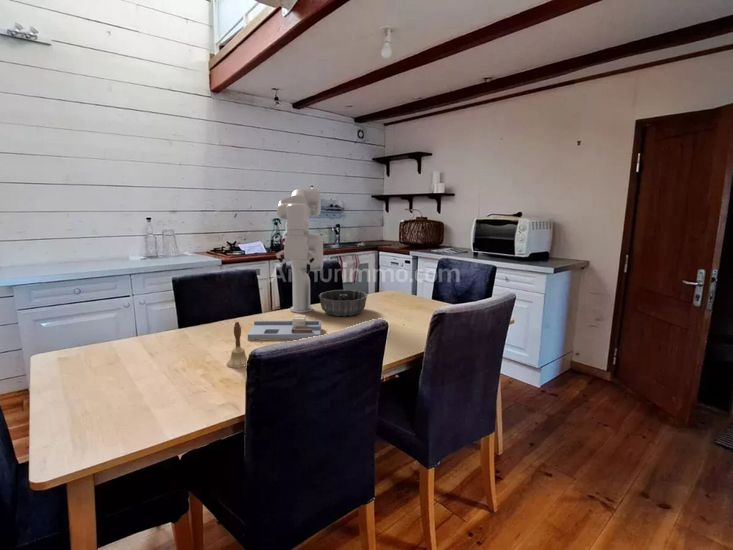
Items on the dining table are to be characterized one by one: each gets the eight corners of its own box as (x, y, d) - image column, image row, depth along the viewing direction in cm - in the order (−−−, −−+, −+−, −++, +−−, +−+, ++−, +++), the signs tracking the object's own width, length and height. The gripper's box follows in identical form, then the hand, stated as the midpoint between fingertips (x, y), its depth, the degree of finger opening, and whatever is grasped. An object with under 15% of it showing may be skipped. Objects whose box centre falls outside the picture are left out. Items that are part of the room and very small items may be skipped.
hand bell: (255, 362, 146) (253, 321, 143) (237, 370, 139) (235, 327, 136) (239, 357, 150) (237, 317, 147) (221, 364, 143) (219, 323, 140)
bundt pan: (310, 316, 206) (310, 297, 204) (329, 304, 231) (329, 287, 229) (358, 321, 198) (358, 302, 197) (372, 308, 223) (373, 291, 221)
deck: (254, 329, 183) (254, 320, 182) (321, 328, 186) (321, 320, 185) (247, 340, 168) (247, 331, 168) (320, 339, 171) (320, 330, 170)
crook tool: (292, 330, 174) (292, 327, 174) (312, 330, 175) (312, 327, 175) (291, 332, 171) (291, 329, 171) (312, 332, 172) (312, 329, 172)
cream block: (293, 324, 183) (293, 315, 182) (305, 324, 183) (305, 315, 182) (292, 328, 177) (292, 318, 177) (304, 328, 178) (304, 318, 177)
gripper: (317, 233, 170) (317, 271, 173) (276, 232, 169) (277, 271, 172) (315, 234, 163) (316, 274, 166) (274, 233, 162) (274, 274, 165)
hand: (296, 272), depth 169 cm, fingers open, 9 cm apart
